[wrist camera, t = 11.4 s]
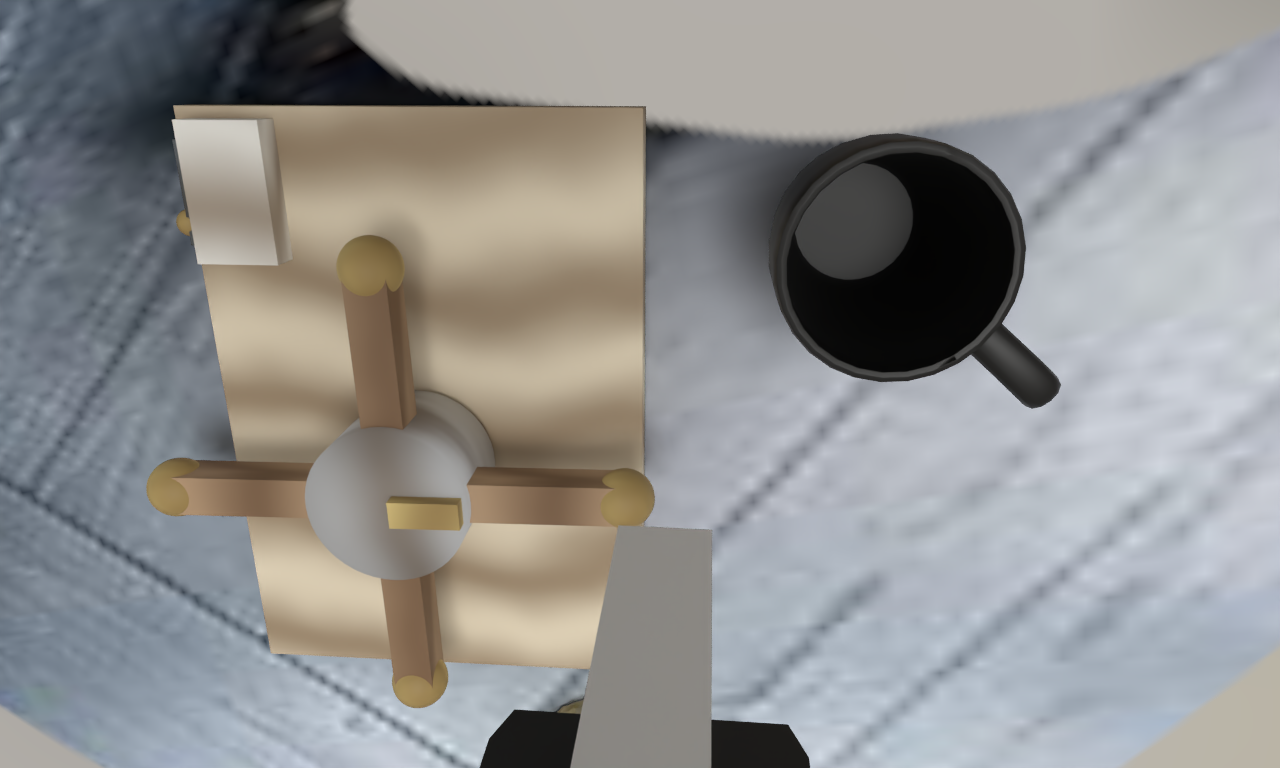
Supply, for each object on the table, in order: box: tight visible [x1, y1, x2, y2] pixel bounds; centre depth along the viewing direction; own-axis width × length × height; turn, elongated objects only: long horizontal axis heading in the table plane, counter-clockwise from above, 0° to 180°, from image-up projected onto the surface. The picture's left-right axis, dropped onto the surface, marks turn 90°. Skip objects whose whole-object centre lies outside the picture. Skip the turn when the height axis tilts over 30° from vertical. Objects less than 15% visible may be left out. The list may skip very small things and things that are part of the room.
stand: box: [172, 105, 646, 669], centre depth 40 cm, size 28×20×3 cm
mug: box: [769, 133, 1061, 409], centre depth 33 cm, size 8×12×10 cm
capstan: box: [147, 235, 655, 708], centre depth 38 cm, size 23×23×6 cm
